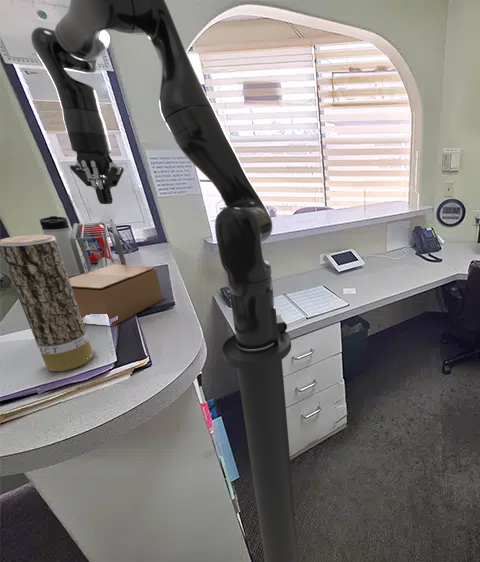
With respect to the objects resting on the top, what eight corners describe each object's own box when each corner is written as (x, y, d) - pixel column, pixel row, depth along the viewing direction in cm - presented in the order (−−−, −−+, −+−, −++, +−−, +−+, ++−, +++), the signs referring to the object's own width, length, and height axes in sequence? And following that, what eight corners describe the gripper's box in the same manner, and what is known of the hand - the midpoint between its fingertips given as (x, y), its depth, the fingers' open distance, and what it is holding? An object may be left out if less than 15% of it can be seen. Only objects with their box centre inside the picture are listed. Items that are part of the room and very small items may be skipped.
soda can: (118, 259, 124) (108, 222, 119) (98, 265, 117) (86, 225, 112) (103, 257, 126) (92, 221, 121) (81, 263, 119) (69, 224, 114)
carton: (122, 296, 91) (113, 263, 88) (163, 299, 90) (155, 266, 87) (63, 322, 76) (50, 284, 72) (112, 326, 75) (100, 288, 71)
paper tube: (84, 349, 65) (44, 233, 57) (101, 358, 63) (62, 237, 54) (40, 366, 60) (-12, 239, 51) (57, 377, 57) (6, 245, 48)
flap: (113, 264, 88) (113, 263, 88) (155, 267, 87) (155, 266, 87) (85, 274, 80) (85, 273, 80) (131, 277, 79) (131, 276, 79)
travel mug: (83, 272, 109) (66, 215, 102) (84, 277, 105) (66, 218, 98) (59, 275, 105) (39, 216, 98) (58, 281, 101) (37, 219, 94)
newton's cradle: (88, 272, 110) (73, 222, 103) (125, 267, 116) (113, 219, 110) (88, 300, 88) (68, 238, 82) (133, 291, 95) (118, 234, 89)
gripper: (125, 134, 79) (141, 203, 85) (77, 132, 80) (96, 201, 86) (98, 130, 72) (117, 206, 78) (46, 129, 73) (69, 204, 79)
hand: (106, 203), depth 82 cm, fingers closed
